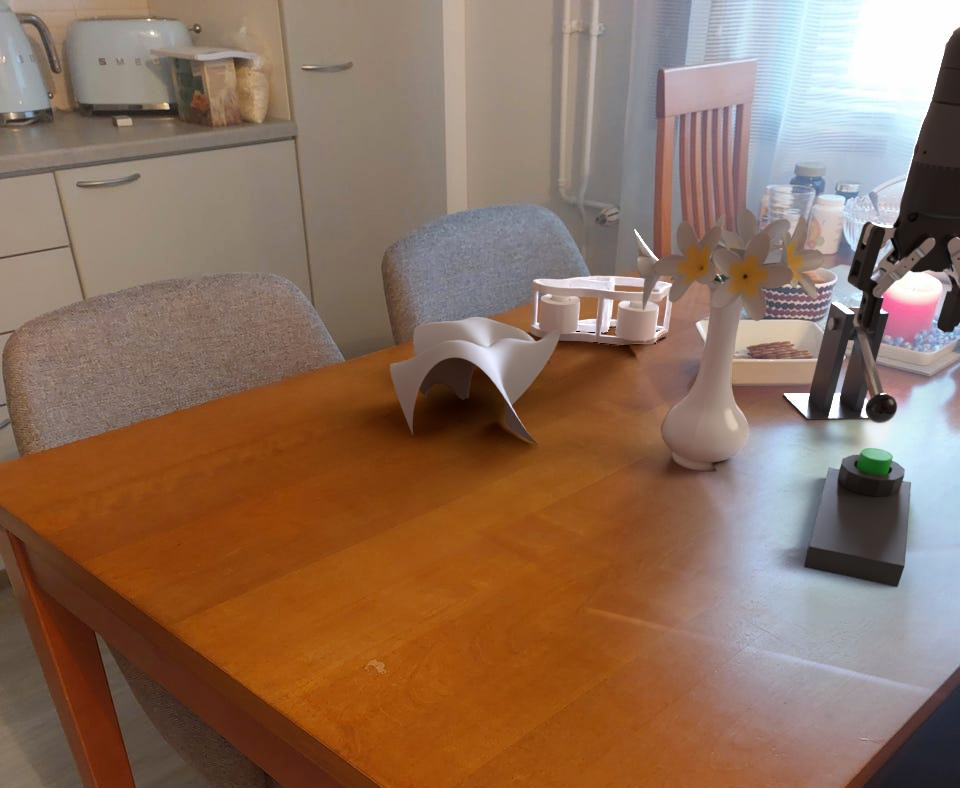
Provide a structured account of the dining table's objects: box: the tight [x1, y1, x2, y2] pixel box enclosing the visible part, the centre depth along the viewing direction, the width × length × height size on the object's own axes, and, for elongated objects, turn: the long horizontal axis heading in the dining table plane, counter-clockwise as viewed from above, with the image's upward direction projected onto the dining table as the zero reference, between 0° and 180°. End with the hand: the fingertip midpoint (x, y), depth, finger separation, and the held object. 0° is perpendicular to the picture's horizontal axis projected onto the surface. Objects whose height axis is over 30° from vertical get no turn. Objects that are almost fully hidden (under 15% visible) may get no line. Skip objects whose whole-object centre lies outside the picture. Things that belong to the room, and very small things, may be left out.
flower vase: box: [633, 207, 825, 472], centre depth 94 cm, size 13×18×25 cm
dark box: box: [803, 454, 912, 588], centre depth 88 cm, size 19×8×4 cm, turn 157°
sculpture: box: [389, 316, 561, 446], centre depth 111 cm, size 25×19×10 cm
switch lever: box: [847, 306, 898, 424], centre depth 104 cm, size 15×3×3 cm
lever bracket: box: [782, 302, 890, 421], centre depth 109 cm, size 8×10×13 cm
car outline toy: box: [529, 275, 673, 344], centre depth 133 cm, size 20×11×7 cm, turn 78°
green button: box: [856, 447, 894, 475], centre depth 91 cm, size 3×3×2 cm
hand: (905, 330), depth 96 cm, fingers open, 8 cm apart
